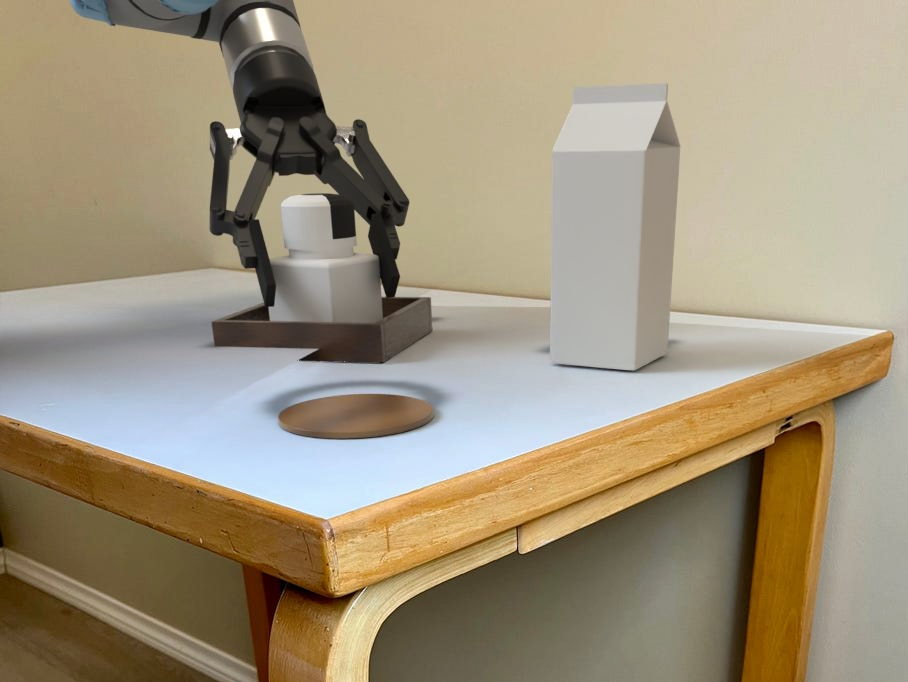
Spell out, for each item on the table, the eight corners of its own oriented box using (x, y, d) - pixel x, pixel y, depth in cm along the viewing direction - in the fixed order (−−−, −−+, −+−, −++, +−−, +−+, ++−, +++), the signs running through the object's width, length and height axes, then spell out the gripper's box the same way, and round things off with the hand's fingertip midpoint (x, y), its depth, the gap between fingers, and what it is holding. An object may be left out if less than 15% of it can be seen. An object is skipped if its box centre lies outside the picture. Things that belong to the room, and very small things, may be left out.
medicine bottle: (322, 334, 93) (309, 191, 87) (385, 340, 89) (377, 192, 84) (270, 347, 87) (254, 196, 82) (336, 354, 84) (324, 197, 78)
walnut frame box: (216, 358, 83) (210, 321, 82) (285, 328, 96) (282, 295, 95) (383, 363, 80) (380, 324, 79) (432, 331, 93) (431, 297, 92)
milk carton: (635, 373, 75) (649, 82, 66) (549, 365, 78) (552, 86, 70) (667, 355, 81) (685, 84, 72) (586, 348, 84) (593, 88, 75)
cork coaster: (252, 435, 62) (251, 428, 62) (313, 397, 71) (312, 391, 70) (408, 441, 60) (407, 435, 60) (450, 401, 68) (450, 396, 68)
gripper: (387, 115, 96) (449, 310, 90) (146, 119, 89) (196, 330, 83) (401, 47, 90) (469, 252, 84) (141, 45, 82) (195, 269, 77)
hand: (333, 291), depth 84 cm, fingers closed on medicine bottle, 10 cm apart
